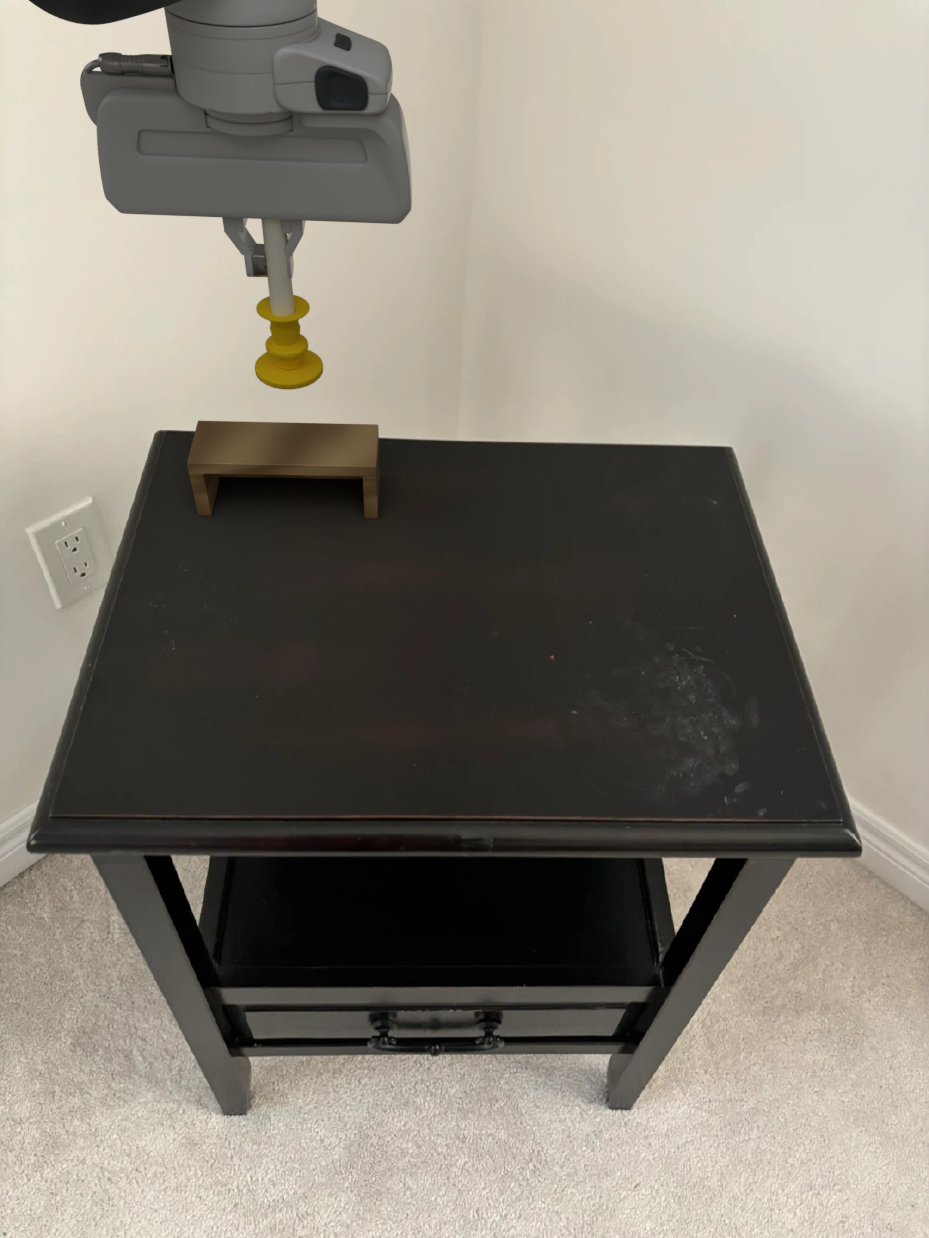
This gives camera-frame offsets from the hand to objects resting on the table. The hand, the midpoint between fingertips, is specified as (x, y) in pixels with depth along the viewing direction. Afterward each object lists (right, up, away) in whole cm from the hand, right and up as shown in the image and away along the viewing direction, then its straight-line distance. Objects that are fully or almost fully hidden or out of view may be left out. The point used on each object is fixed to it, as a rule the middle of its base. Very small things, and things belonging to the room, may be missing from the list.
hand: (270, 274), depth 67 cm
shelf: (-2, -13, +19) cm, 23 cm away
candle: (0, -6, +6) cm, 8 cm away
